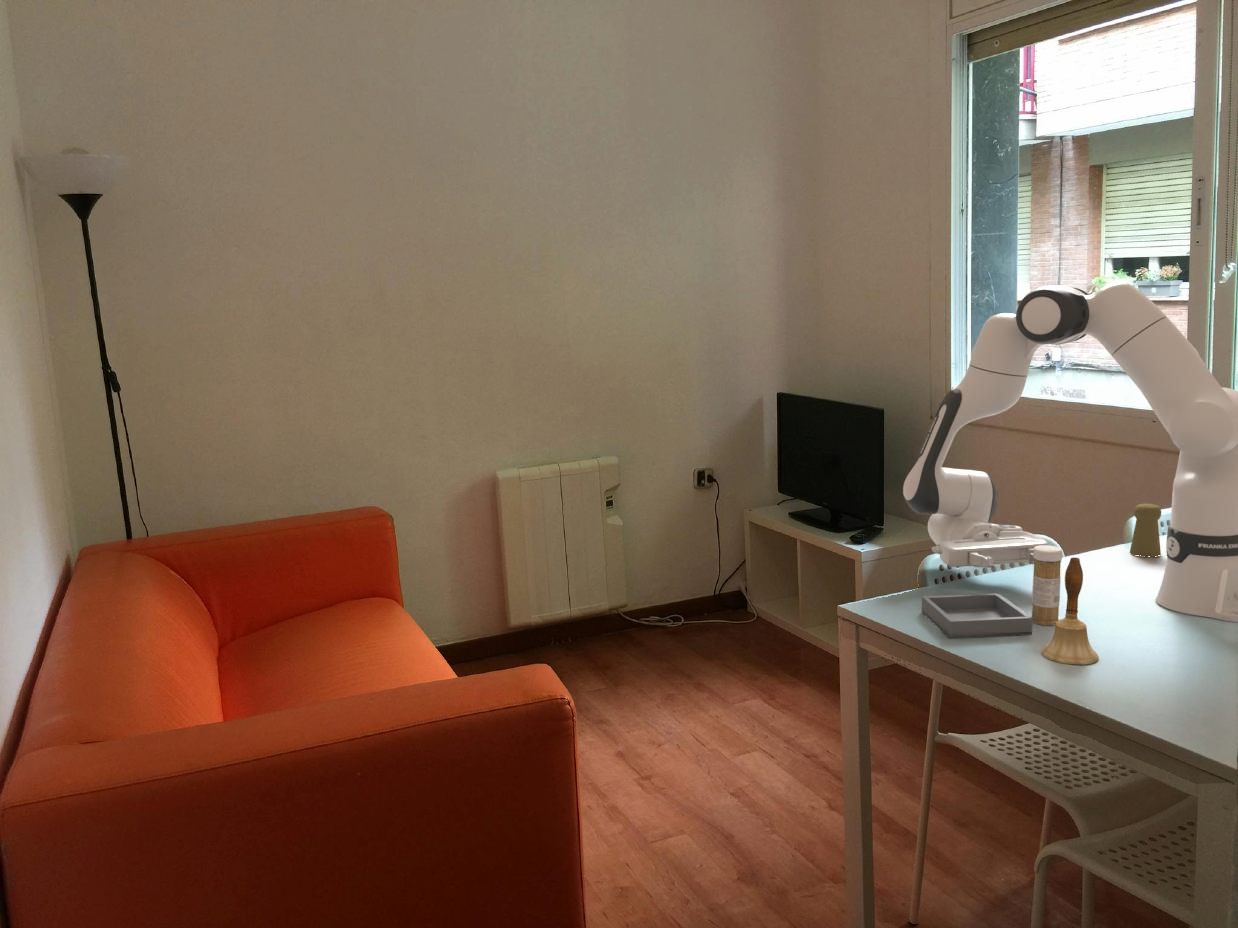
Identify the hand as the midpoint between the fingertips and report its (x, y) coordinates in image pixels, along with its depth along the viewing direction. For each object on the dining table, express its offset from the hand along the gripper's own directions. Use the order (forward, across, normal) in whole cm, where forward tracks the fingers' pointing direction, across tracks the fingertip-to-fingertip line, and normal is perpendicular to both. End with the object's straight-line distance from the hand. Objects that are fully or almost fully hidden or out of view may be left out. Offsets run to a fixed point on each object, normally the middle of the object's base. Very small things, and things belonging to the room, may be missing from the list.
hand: (1014, 561), depth 180 cm
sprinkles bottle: (+11, 0, +8) cm, 14 cm away
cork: (-25, +44, +8) cm, 52 cm away
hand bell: (+27, -5, +8) cm, 28 cm away
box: (+9, -12, +8) cm, 17 cm away
